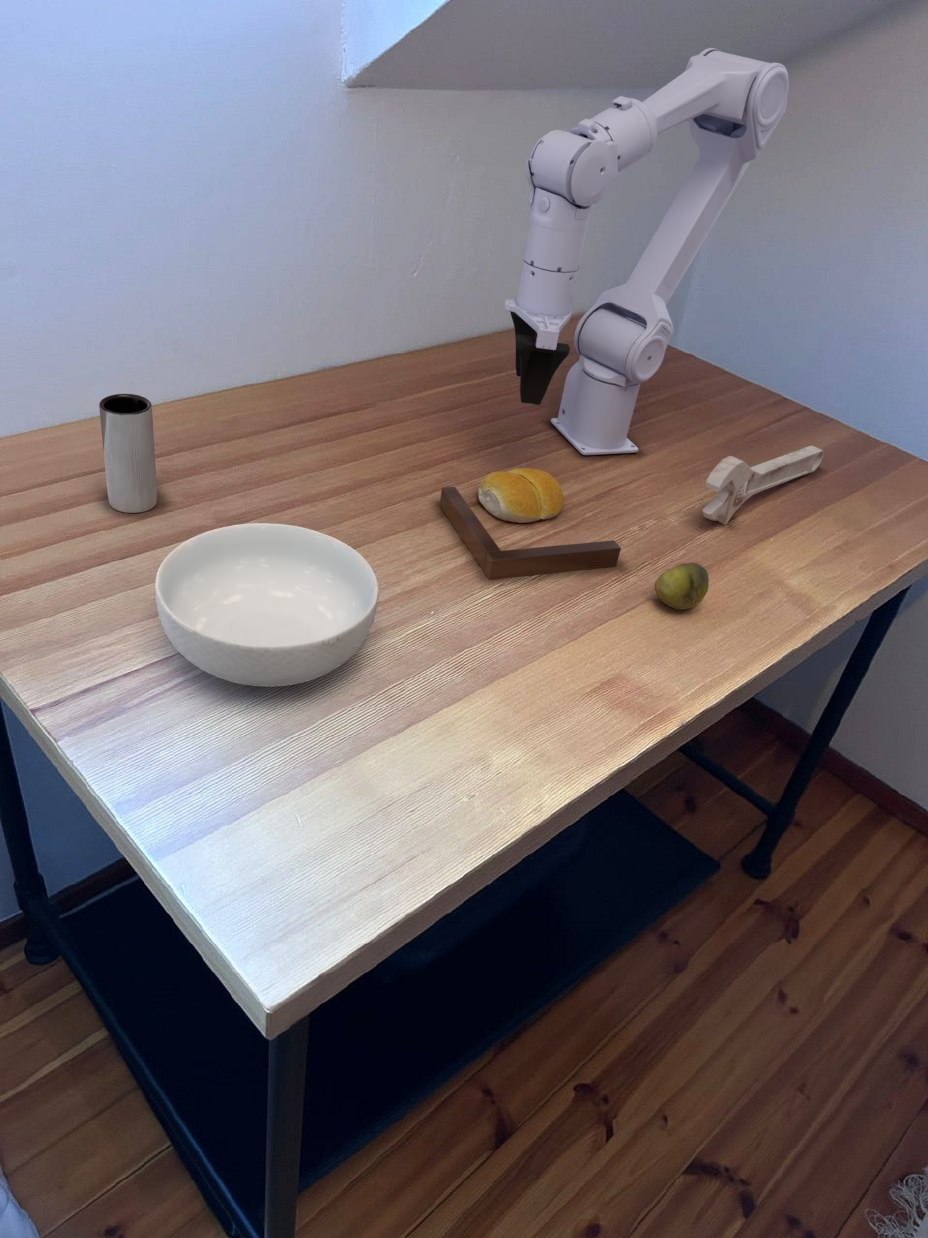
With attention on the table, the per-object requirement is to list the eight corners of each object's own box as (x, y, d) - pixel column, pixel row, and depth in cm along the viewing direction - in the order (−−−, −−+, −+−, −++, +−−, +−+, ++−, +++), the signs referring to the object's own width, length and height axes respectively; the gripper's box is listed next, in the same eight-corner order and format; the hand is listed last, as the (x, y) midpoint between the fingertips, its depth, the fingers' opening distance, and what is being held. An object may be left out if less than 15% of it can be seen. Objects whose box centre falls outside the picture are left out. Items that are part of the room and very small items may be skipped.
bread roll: (574, 516, 102) (582, 484, 100) (507, 531, 97) (514, 497, 95) (530, 481, 107) (536, 449, 105) (464, 493, 103) (469, 460, 100)
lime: (644, 604, 90) (657, 560, 87) (669, 586, 93) (683, 543, 90) (684, 626, 88) (699, 582, 85) (708, 607, 91) (724, 564, 88)
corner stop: (439, 505, 100) (441, 487, 98) (556, 497, 105) (560, 479, 104) (489, 579, 90) (492, 560, 88) (616, 566, 95) (621, 547, 94)
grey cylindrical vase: (167, 500, 93) (162, 402, 87) (135, 518, 90) (128, 418, 84) (130, 485, 94) (123, 388, 88) (98, 503, 91) (87, 404, 85)
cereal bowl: (179, 737, 68) (175, 661, 64) (144, 603, 80) (139, 532, 75) (401, 698, 74) (410, 626, 70) (338, 580, 86) (343, 513, 82)
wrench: (809, 489, 122) (701, 536, 101) (797, 483, 123) (686, 528, 102) (835, 431, 118) (728, 467, 97) (822, 425, 119) (712, 460, 98)
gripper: (508, 238, 102) (489, 359, 110) (517, 280, 90) (495, 411, 98) (572, 247, 102) (548, 367, 110) (589, 289, 91) (561, 419, 99)
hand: (527, 388), depth 104 cm, fingers open, 7 cm apart
